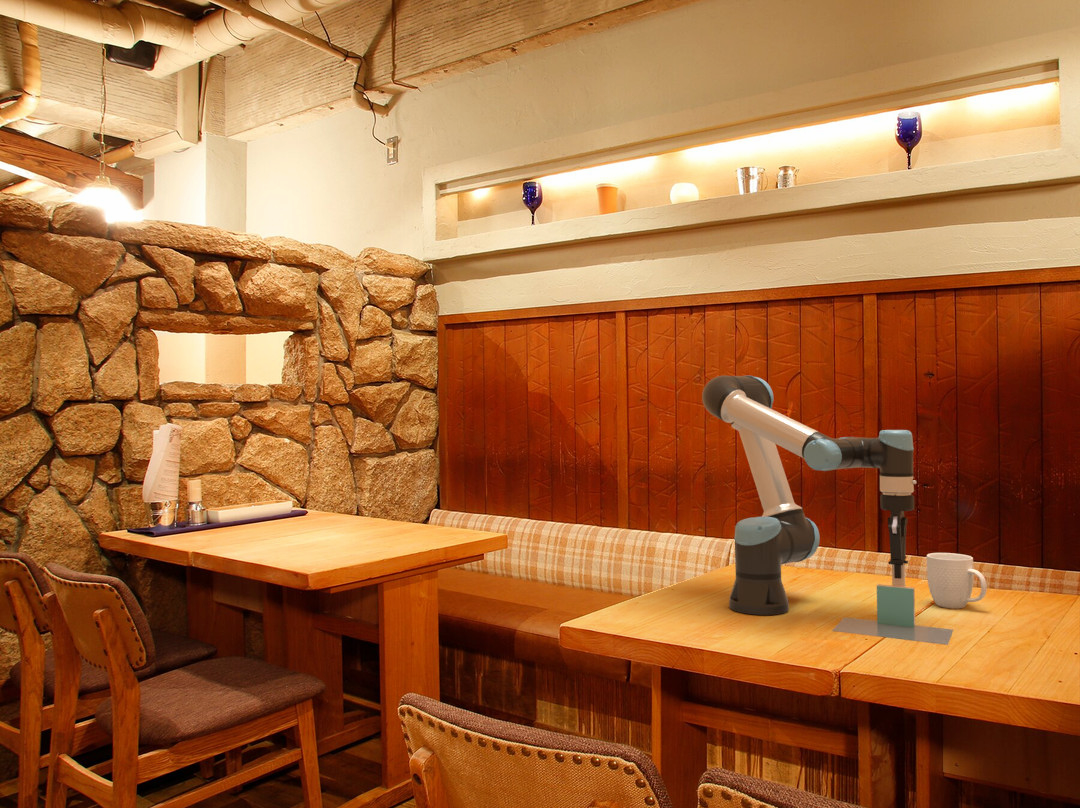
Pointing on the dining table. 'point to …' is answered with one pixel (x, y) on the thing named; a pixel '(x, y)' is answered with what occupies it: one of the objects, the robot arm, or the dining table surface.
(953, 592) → the mug
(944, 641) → the slate board
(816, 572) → the dining table surface
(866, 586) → the dining table surface
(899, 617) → the tile
